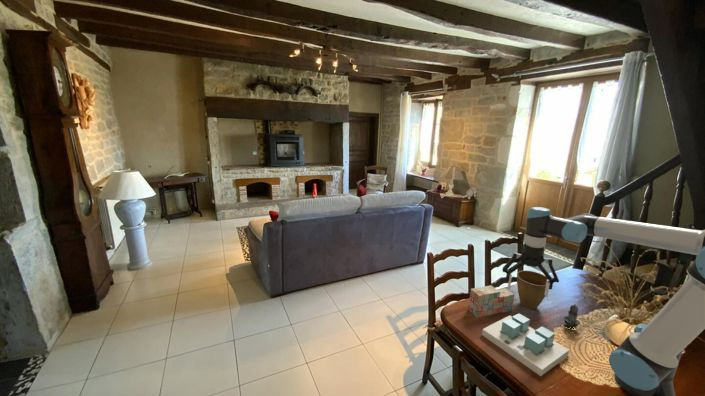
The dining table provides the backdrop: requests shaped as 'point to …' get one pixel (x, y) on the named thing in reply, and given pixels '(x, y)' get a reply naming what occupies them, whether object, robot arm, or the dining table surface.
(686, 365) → the dining table surface
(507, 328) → the button
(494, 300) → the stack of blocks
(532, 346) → the button
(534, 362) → the board
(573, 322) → the dark grey tall piece
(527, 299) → the plant pot
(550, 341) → the button
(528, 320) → the button
